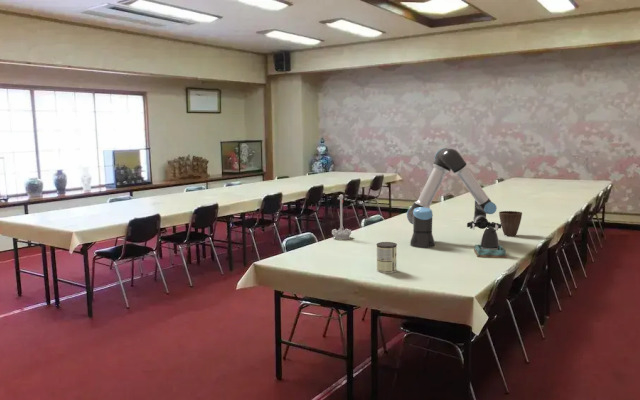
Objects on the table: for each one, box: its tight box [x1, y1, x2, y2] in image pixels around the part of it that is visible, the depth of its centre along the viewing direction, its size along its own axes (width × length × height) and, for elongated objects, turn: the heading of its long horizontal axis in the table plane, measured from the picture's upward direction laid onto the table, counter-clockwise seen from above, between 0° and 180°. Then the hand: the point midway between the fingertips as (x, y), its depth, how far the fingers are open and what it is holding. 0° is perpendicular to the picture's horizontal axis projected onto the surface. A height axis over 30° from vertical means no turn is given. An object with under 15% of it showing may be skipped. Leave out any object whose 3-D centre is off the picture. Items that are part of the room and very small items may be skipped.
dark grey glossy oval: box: [480, 227, 500, 250], centre depth 309 cm, size 10×10×15 cm
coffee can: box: [376, 241, 398, 274], centre depth 275 cm, size 10×10×14 cm
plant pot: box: [498, 210, 523, 237], centre depth 365 cm, size 15×15×16 cm
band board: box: [473, 244, 508, 259], centre depth 310 cm, size 16×16×4 cm
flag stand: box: [331, 194, 352, 240], centre depth 362 cm, size 13×13×30 cm
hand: (485, 227), depth 321 cm, fingers open, 13 cm apart
